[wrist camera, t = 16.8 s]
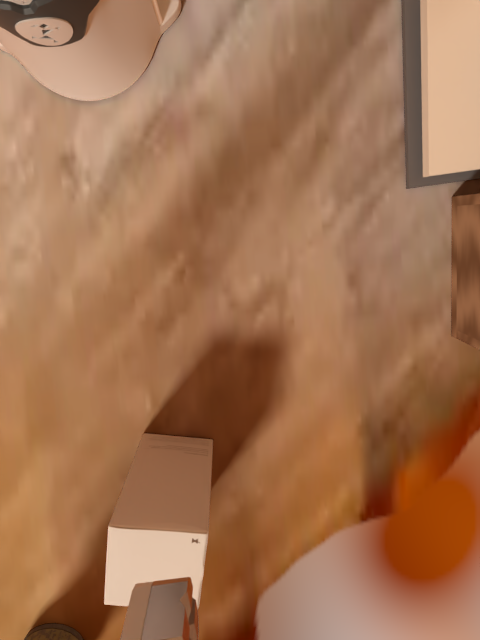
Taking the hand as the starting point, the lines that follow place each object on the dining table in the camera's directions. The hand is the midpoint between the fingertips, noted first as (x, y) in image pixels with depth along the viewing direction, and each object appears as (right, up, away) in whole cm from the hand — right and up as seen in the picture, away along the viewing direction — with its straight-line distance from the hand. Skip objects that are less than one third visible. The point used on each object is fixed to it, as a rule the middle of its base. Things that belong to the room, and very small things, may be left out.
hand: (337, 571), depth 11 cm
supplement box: (-11, -12, +38) cm, 41 cm away
